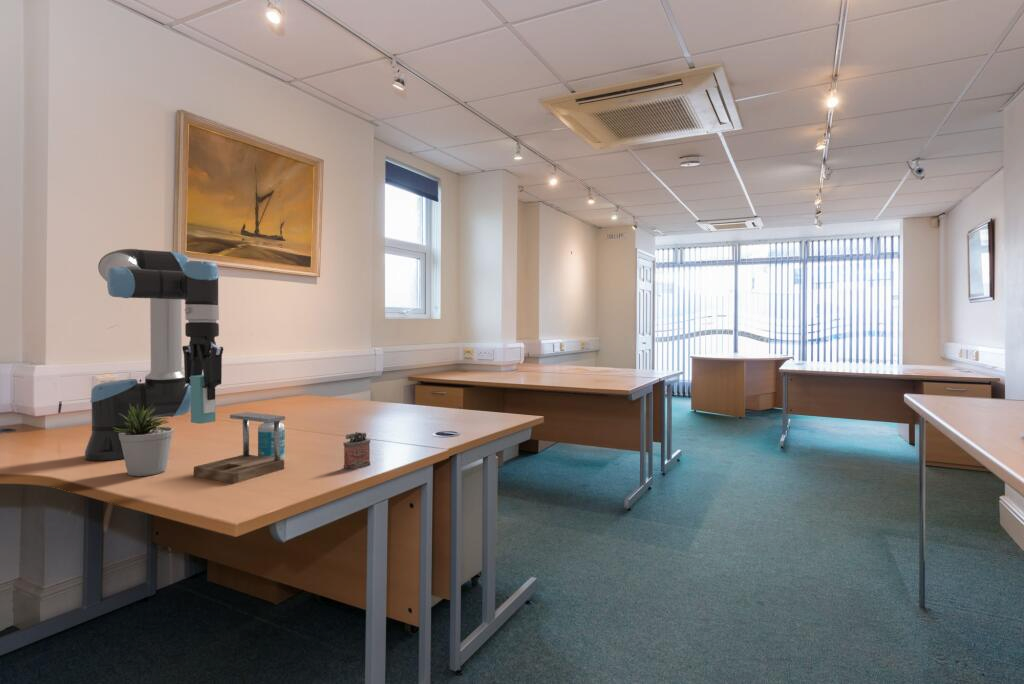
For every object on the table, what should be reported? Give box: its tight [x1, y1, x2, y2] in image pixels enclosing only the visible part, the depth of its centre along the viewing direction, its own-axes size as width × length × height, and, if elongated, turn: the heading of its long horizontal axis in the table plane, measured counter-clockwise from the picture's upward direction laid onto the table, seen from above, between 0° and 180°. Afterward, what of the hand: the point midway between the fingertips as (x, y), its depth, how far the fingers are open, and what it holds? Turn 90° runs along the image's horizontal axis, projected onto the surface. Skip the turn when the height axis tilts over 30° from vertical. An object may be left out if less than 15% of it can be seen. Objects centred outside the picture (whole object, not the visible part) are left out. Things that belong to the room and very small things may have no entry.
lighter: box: [343, 431, 371, 471], centre depth 155 cm, size 8×3×10 cm, turn 134°
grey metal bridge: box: [229, 411, 286, 461], centre depth 154 cm, size 16×6×15 cm, turn 64°
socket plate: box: [193, 454, 285, 484], centre depth 149 cm, size 16×16×2 cm
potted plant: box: [113, 404, 174, 477], centre depth 148 cm, size 13×14×20 cm
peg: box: [189, 374, 216, 425], centre depth 139 cm, size 4×4×12 cm
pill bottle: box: [257, 422, 286, 460], centre depth 162 cm, size 8×7×14 cm
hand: (203, 411), depth 139 cm, fingers closed on peg, 4 cm apart
